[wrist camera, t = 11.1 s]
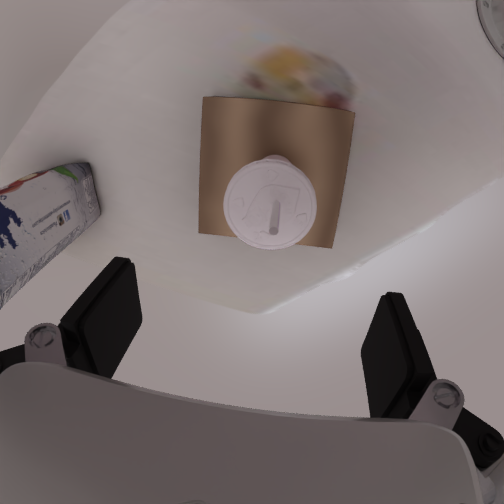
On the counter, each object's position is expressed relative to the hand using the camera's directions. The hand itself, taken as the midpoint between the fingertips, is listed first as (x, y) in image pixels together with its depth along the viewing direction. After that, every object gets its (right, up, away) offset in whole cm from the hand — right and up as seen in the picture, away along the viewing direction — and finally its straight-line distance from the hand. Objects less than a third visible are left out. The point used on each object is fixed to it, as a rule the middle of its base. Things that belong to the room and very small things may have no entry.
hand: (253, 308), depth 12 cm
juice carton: (-24, +10, +26) cm, 37 cm away
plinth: (+2, +11, +22) cm, 25 cm away
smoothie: (+2, +9, +18) cm, 21 cm away
